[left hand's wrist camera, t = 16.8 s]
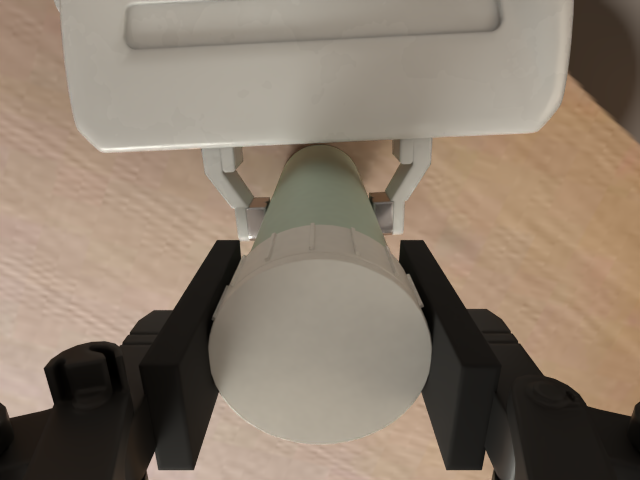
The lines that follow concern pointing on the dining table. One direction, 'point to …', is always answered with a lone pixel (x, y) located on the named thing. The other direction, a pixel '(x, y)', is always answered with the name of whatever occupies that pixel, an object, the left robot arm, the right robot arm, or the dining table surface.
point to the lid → (320, 337)
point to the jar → (320, 195)
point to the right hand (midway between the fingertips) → (321, 234)
